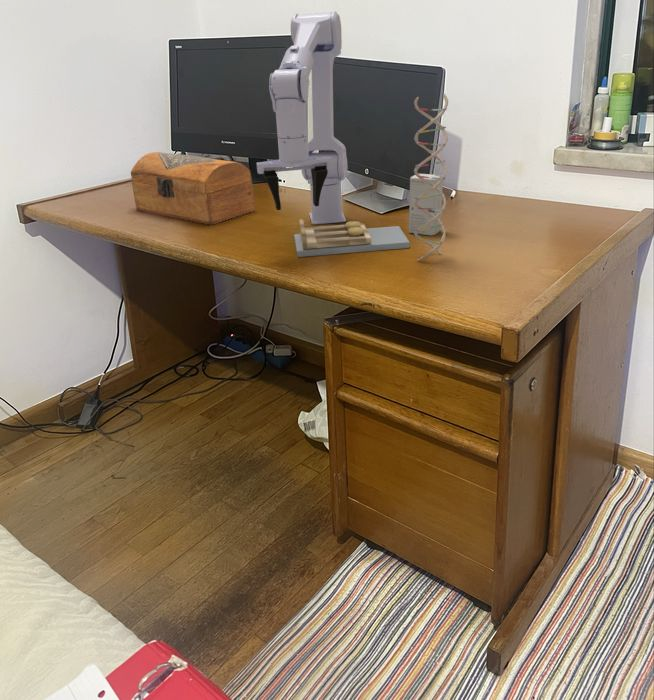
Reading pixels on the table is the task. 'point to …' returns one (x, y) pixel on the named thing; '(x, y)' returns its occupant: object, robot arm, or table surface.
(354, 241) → the beige flat slatted frame
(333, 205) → the robot arm
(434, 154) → the dna model
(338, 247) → the board
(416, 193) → the skincare box
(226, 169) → the wooden box
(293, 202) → the table surface
